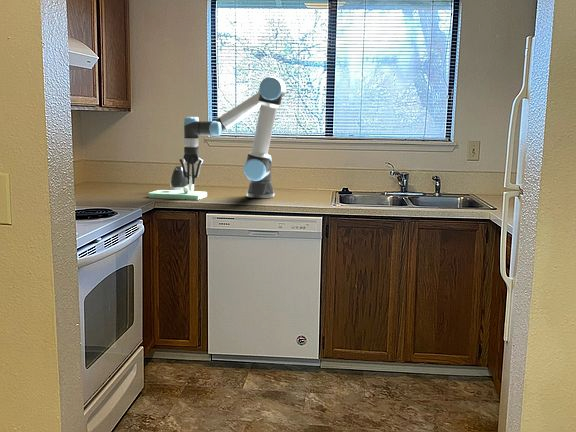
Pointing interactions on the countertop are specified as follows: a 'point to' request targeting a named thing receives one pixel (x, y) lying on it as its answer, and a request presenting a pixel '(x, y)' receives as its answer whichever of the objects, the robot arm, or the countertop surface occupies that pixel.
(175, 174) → the dark grey egg shape
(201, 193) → the green
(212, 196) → the countertop surface
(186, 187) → the ball
